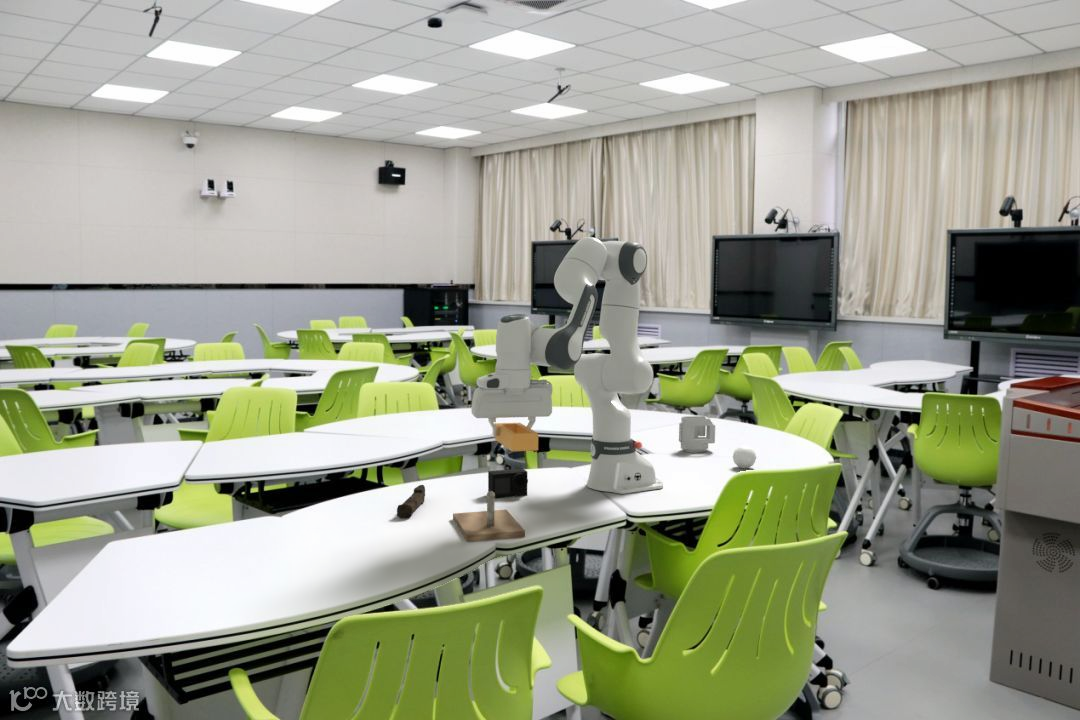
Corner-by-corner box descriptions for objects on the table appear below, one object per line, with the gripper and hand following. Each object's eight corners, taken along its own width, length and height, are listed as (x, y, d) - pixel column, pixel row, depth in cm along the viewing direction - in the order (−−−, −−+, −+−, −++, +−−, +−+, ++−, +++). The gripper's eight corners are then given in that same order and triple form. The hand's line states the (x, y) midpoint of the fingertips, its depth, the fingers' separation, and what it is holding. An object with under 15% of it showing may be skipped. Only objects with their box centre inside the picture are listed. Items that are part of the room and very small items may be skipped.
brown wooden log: (411, 520, 208) (411, 502, 208) (396, 519, 209) (396, 501, 209) (433, 500, 227) (433, 483, 227) (419, 499, 228) (419, 482, 227)
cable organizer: (715, 452, 289) (716, 418, 288) (681, 453, 287) (682, 419, 286) (709, 448, 296) (710, 415, 294) (675, 449, 294) (676, 416, 293)
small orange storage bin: (519, 438, 210) (519, 422, 210) (537, 450, 195) (538, 433, 195) (494, 438, 208) (494, 423, 208) (511, 451, 193) (511, 434, 193)
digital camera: (493, 499, 227) (493, 475, 226) (487, 494, 232) (487, 470, 231) (528, 496, 230) (529, 472, 230) (522, 491, 235) (522, 467, 235)
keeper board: (506, 515, 212) (506, 477, 211) (525, 536, 195) (525, 495, 194) (452, 519, 208) (452, 480, 207) (467, 541, 191) (467, 499, 190)
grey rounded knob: (756, 471, 262) (757, 448, 261) (732, 470, 263) (733, 447, 262) (754, 464, 271) (755, 442, 271) (731, 463, 273) (732, 441, 272)
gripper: (548, 378, 210) (547, 431, 211) (470, 378, 204) (469, 433, 205) (556, 380, 204) (555, 435, 205) (476, 381, 198) (475, 438, 199)
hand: (511, 434), depth 205 cm, fingers closed on small orange storage bin, 7 cm apart
